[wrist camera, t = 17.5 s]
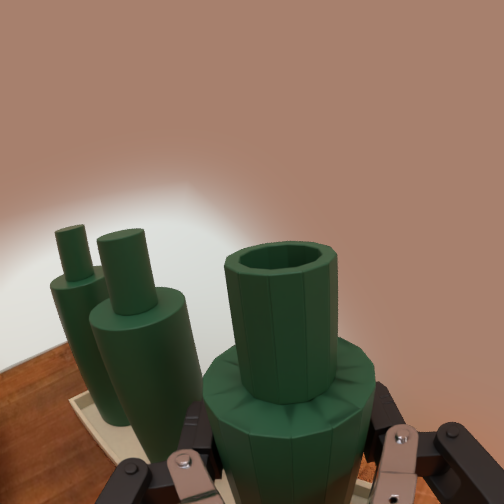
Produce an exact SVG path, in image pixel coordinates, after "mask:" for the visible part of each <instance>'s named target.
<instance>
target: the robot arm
mask: <svg viewBox="0 0 504 504" xmlns="http://www.w3.org/2000/svg"><path fill="white" fill-rule="evenodd" d="M183 424H184V425H183V427H182V432H181V436H180V440H179V444H178V448H177V451H175V452H173V453H172V454H171V455H170V456H169V457H168V459H167V460H165V461H162V462H157V463H151V464H146V462H145V461H144V460H142V459H140V458H127V459H125V460H123V461H121V462H120V463H119V464H118V465H117V467H116V469H115V470H114V472H113V474H112V475H111V477H110V479H109V480H108V482H107V484H106V485H105V487H104V489H103V490H102V492H101V494H100V495H99V497H98V499H97V501H96V502H95V504H225V502H224V500H223V498H222V496H221V495H220V493H219V491H218V490H217V489H216V487H215V485H214V482H215V479H222V470H223V465H222V462H221V459H220V456H219V452H218V449H217V446H216V443H215V439H214V436H213V433H212V429H211V426H210V422H209V419H208V415H207V412H206V408H205V404H204V401H203V396H202V401H193V402H192V404H191V405H190V406H189V407H188V408H187V411H186V415H185V419H184V423H183ZM364 455H365V458H366V461H367V463H370V462H374V461H375V464H376V470H375V474H374V478H373V482H372V486H371V490H370V493H369V497H368V501H367V504H413V503H414V497H415V490H416V483H417V477H423V479H424V480H425V481H426V483H427V484H428V486H429V487H430V489H431V490H432V492H433V493H434V494H435V496H436V497H437V499H438V500H439V502H440V503H441V504H504V470H503V468H502V467H501V466H500V465H499V464H498V463H497V462H496V461H495V460H494V459H493V457H492V456H491V455H490V454H489V453H488V452H487V451H486V450H485V449H484V448H483V447H482V445H481V444H480V443H479V442H478V441H477V440H476V439H475V438H474V437H473V436H472V435H471V434H470V433H469V431H468V430H467V429H466V428H465V427H464V426H463V425H461V424H459V423H456V422H448V423H445V424H443V425H441V426H440V427H439V429H438V431H437V432H418V431H417V430H416V429H415V428H414V427H412V426H410V425H407V424H406V423H405V421H404V419H403V417H402V416H401V414H400V412H399V410H398V408H397V406H396V404H395V402H394V400H393V398H392V397H391V395H390V393H389V391H388V389H387V387H385V386H384V385H383V384H381V383H380V382H376V388H375V394H374V400H373V406H372V412H371V418H370V423H369V428H368V433H367V438H366V443H365V447H364Z"/></svg>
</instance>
